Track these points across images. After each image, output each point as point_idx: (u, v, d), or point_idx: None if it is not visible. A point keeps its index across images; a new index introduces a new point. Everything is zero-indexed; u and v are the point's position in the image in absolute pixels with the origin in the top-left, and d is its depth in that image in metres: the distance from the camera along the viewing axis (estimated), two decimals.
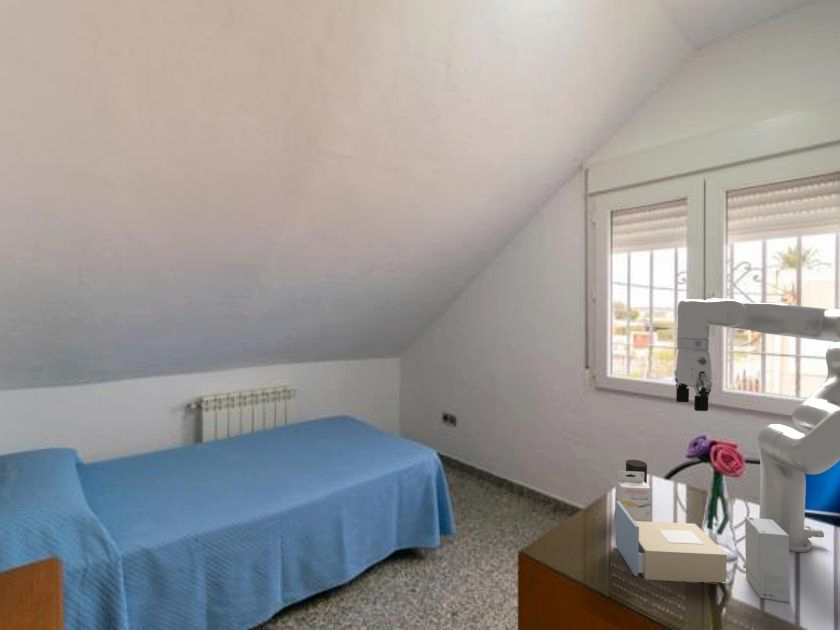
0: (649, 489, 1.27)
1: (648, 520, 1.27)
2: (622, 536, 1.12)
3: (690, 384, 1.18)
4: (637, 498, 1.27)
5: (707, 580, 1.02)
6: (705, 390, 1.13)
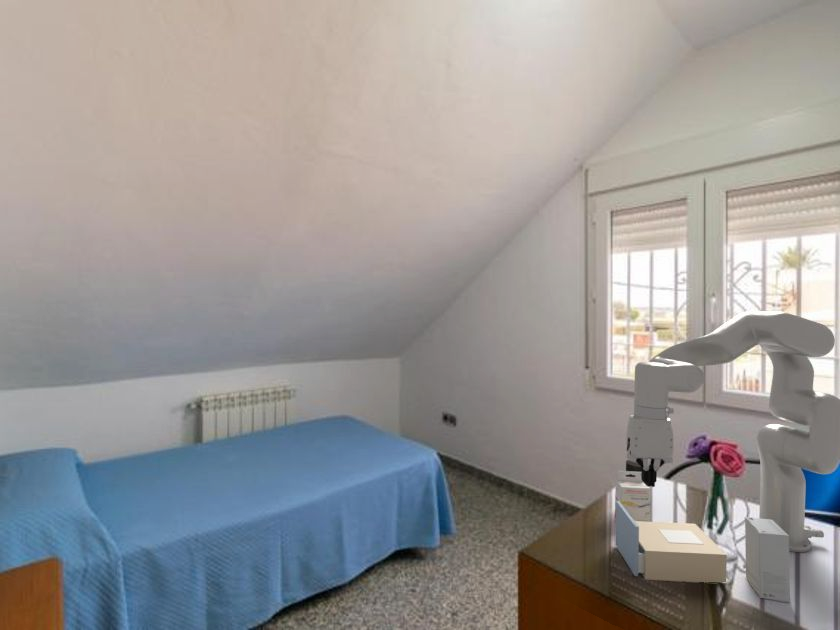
0: (649, 489, 1.27)
1: (648, 520, 1.27)
2: (622, 536, 1.12)
3: (667, 456, 1.07)
4: (637, 498, 1.27)
5: (707, 580, 1.02)
6: None
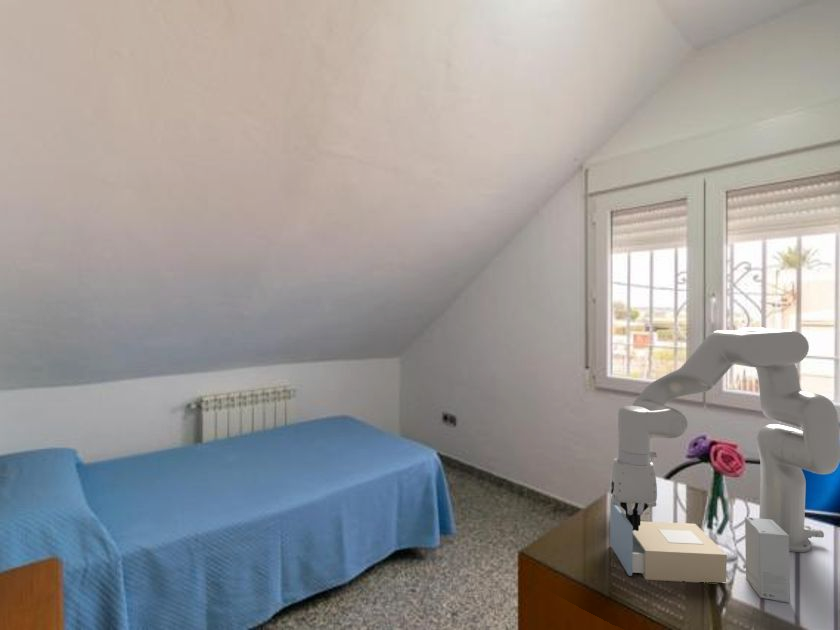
0: None
1: (648, 520, 1.27)
2: (616, 536, 1.12)
3: (650, 501, 1.08)
4: None
5: (707, 580, 1.02)
6: None
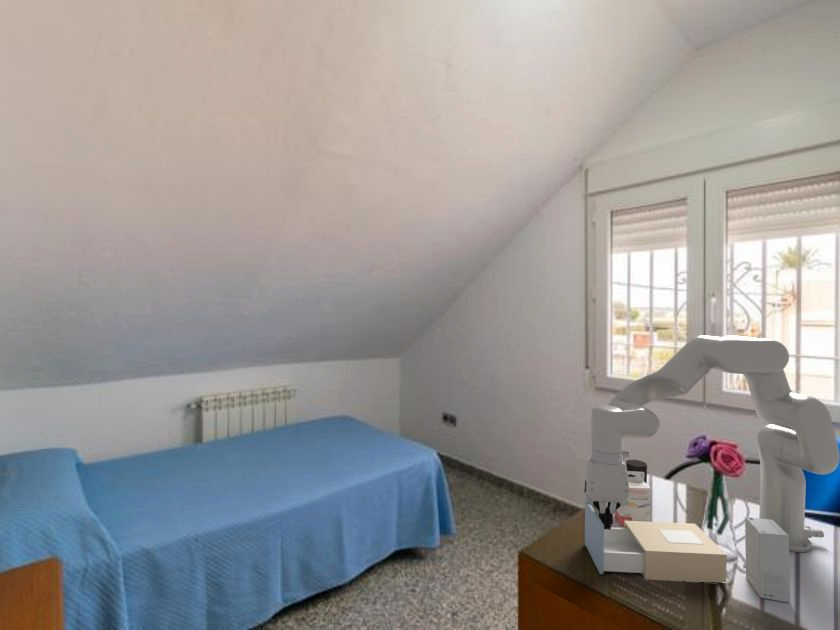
0: (649, 489, 1.27)
1: (648, 520, 1.27)
2: (590, 534, 1.13)
3: (622, 500, 1.08)
4: (637, 498, 1.27)
5: (707, 580, 1.02)
6: None
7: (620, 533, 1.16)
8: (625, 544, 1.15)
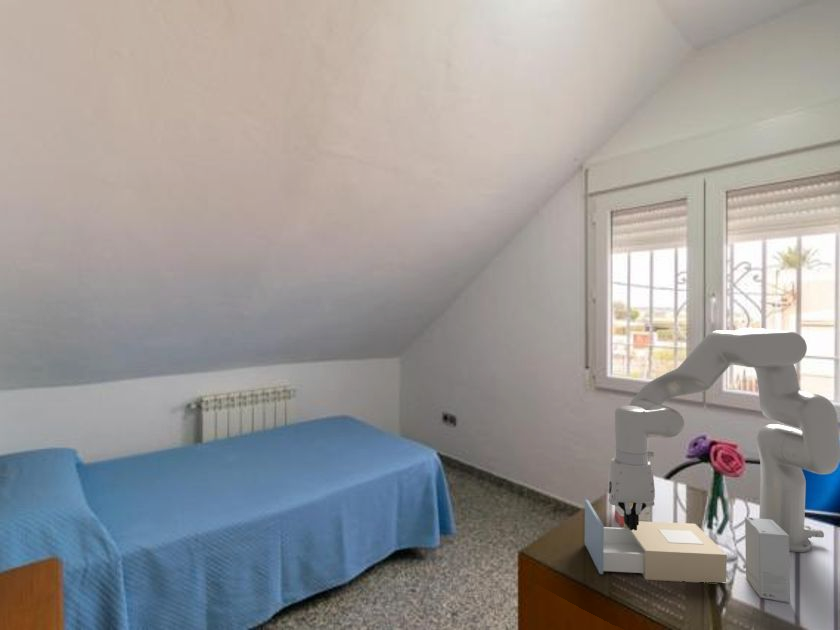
0: None
1: (648, 520, 1.27)
2: (590, 534, 1.13)
3: (648, 500, 1.08)
4: None
5: (707, 580, 1.02)
6: None
7: (620, 533, 1.16)
8: (625, 544, 1.15)
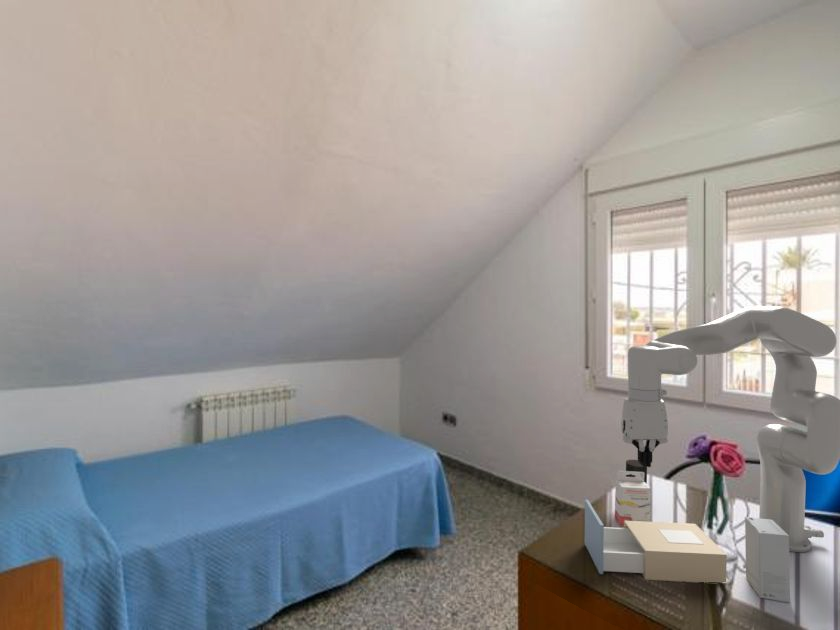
0: (649, 489, 1.27)
1: (648, 520, 1.27)
2: (590, 534, 1.13)
3: (661, 437, 1.10)
4: (637, 498, 1.27)
5: (707, 580, 1.02)
6: None
7: (620, 533, 1.16)
8: (625, 544, 1.15)
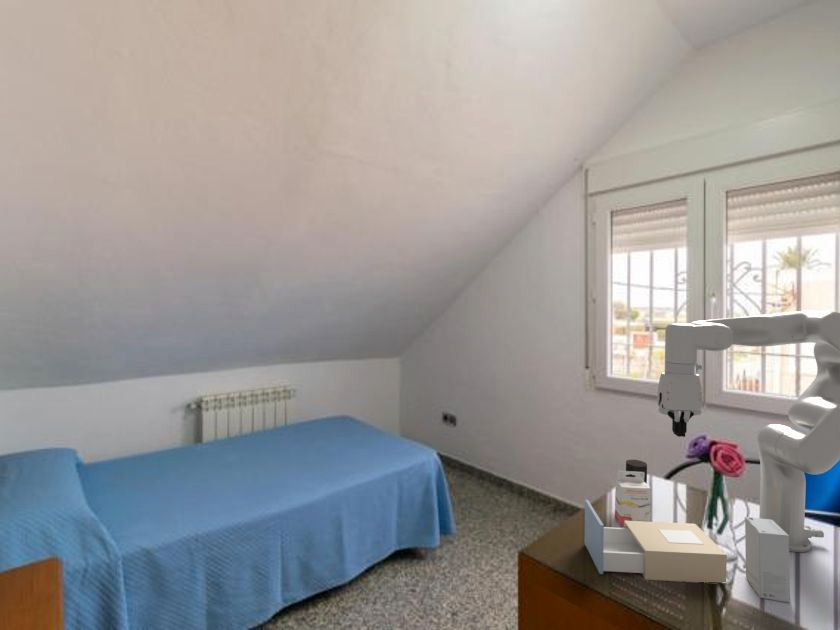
0: (649, 489, 1.27)
1: (648, 520, 1.27)
2: (590, 534, 1.13)
3: (696, 408, 1.17)
4: (637, 498, 1.27)
5: (707, 580, 1.02)
6: None
7: (620, 533, 1.16)
8: (625, 544, 1.15)
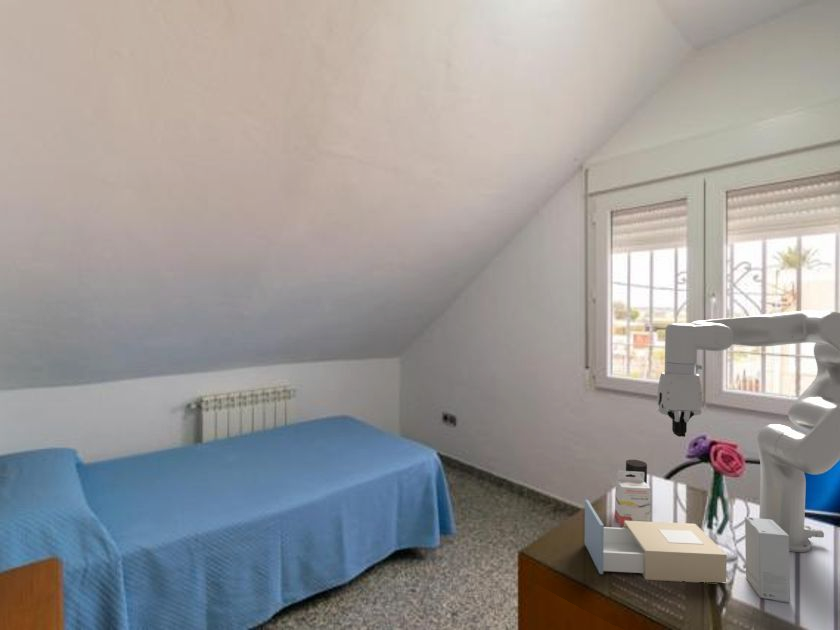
0: (649, 489, 1.27)
1: (648, 520, 1.27)
2: (590, 534, 1.13)
3: (696, 408, 1.17)
4: (637, 498, 1.27)
5: (707, 580, 1.02)
6: None
7: (620, 533, 1.16)
8: (625, 544, 1.15)
